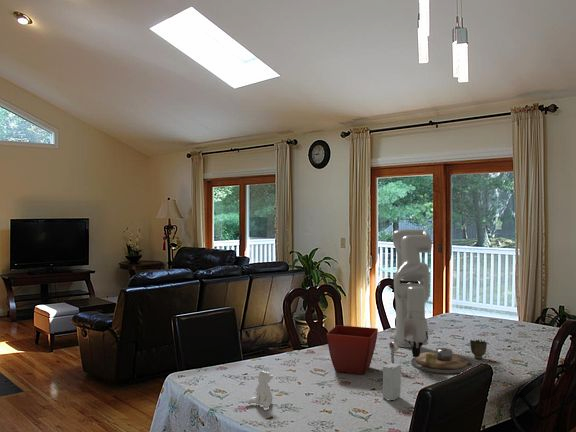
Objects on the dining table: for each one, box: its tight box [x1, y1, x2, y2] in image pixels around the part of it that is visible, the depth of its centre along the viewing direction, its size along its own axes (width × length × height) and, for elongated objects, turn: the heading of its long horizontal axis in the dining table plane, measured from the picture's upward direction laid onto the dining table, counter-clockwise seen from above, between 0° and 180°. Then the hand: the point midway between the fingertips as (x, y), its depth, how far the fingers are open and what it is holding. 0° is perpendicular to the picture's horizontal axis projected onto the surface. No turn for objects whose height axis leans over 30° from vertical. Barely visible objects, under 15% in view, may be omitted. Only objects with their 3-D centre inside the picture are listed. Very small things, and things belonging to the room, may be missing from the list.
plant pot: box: [326, 324, 379, 375], centre depth 226 cm, size 19×19×17 cm
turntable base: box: [410, 357, 473, 375], centre depth 232 cm, size 26×26×1 cm
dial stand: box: [388, 341, 400, 364], centre depth 228 cm, size 6×5×12 cm
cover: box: [435, 347, 453, 361], centre depth 231 cm, size 7×7×4 cm
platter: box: [416, 351, 468, 369], centre depth 232 cm, size 22×22×6 cm
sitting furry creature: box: [245, 370, 274, 409], centre depth 185 cm, size 10×9×12 cm
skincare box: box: [382, 362, 402, 401], centre depth 191 cm, size 6×4×12 cm
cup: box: [469, 339, 488, 360], centre depth 243 cm, size 8×7×8 cm
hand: (416, 356), depth 229 cm, fingers closed
